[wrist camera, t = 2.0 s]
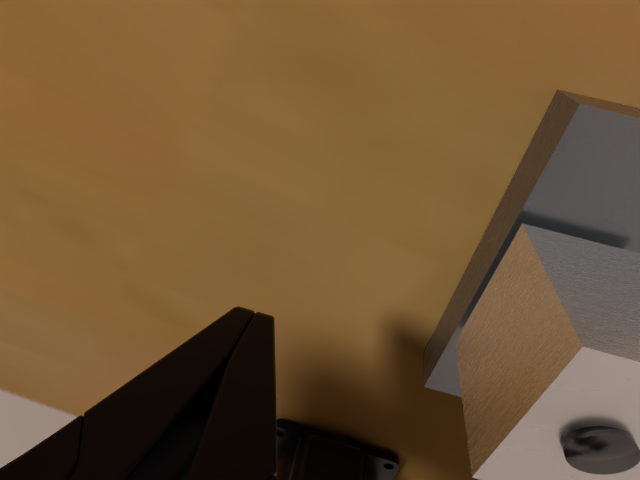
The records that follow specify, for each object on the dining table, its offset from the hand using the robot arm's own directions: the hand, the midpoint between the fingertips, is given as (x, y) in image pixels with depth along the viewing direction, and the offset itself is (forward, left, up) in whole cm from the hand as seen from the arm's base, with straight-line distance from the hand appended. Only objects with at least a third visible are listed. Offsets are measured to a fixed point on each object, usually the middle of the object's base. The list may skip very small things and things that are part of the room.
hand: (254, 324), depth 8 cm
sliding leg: (0, -7, -3) cm, 8 cm away
